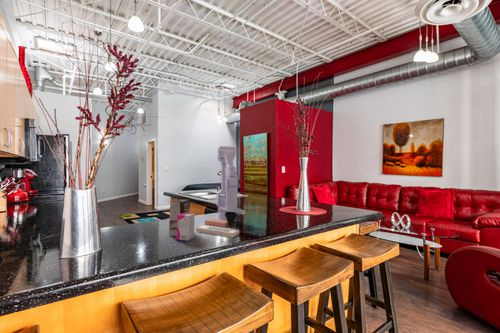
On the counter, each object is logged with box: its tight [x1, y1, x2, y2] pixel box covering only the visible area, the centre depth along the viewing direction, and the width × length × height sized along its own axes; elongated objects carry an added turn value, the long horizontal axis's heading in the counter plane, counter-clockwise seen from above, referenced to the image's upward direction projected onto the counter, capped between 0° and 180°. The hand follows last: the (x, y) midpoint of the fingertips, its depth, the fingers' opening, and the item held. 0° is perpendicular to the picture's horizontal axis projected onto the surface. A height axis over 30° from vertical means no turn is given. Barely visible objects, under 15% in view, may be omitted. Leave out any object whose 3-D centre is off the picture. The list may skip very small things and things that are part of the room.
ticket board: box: [196, 224, 240, 238], centre depth 129 cm, size 7×20×2 cm, turn 67°
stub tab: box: [204, 218, 231, 228], centre depth 137 cm, size 5×12×4 cm, turn 67°
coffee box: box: [168, 198, 191, 237], centre depth 125 cm, size 9×6×16 cm
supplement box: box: [176, 212, 195, 243], centre depth 117 cm, size 6×6×12 cm
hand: (230, 226), depth 134 cm, fingers closed
